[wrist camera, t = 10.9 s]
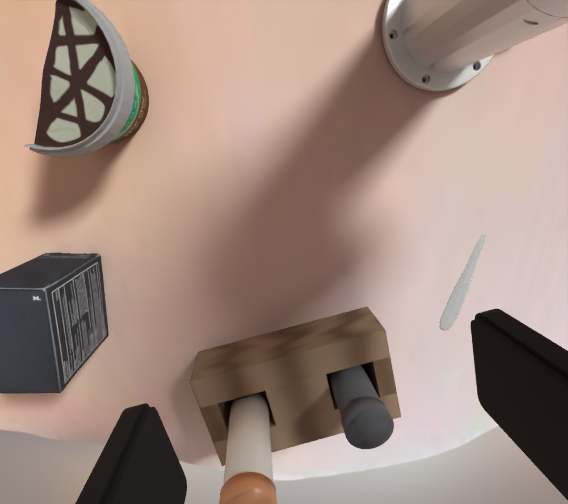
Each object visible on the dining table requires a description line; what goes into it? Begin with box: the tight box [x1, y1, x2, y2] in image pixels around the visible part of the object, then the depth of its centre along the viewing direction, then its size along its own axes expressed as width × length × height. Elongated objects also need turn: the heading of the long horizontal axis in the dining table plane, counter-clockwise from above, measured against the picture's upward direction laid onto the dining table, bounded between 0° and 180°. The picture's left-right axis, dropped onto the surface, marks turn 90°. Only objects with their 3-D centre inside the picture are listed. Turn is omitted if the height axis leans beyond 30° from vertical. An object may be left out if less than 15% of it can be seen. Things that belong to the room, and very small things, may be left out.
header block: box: [190, 307, 401, 466], centre depth 41 cm, size 22×12×6 cm, turn 104°
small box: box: [0, 253, 108, 393], centre depth 34 cm, size 11×6×10 cm, turn 178°
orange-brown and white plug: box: [219, 393, 277, 504], centre depth 34 cm, size 5×5×12 cm
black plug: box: [327, 364, 394, 449], centre depth 38 cm, size 5×5×12 cm
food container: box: [25, 0, 149, 157], centre depth 30 cm, size 12×6×10 cm, turn 161°
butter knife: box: [440, 235, 485, 330], centre depth 42 cm, size 1×27×3 cm
